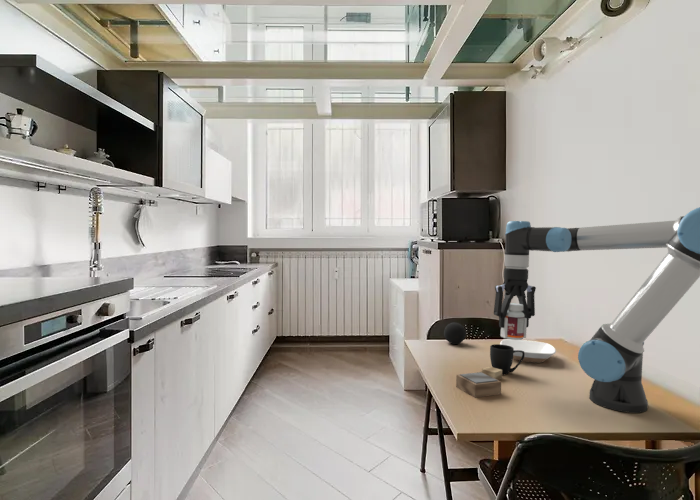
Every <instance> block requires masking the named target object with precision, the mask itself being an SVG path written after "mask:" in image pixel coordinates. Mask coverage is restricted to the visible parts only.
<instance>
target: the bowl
mask: <svg viewBox="0 0 700 500" xmlns="http://www.w3.org/2000/svg"><path fill="white" fill-rule="evenodd" d="M499 344H501V345H507V346H511V347H513V349H514V350H521V351H524V353H525V355H524V359H523V360H522V362H525V361H526V362H525V363H535V362H537V364H538V363H539V364H541V363H543V362H545V361H546V360H547V359H550V358H551V357H552V356H554V355H555V354H556V353H557V349H556V348H555V347H554V346H553V345H552V344H550V343H547V342H543V341H535V340H526V339H522V340H511V339H507V338H503V339H502V340H501V341H500V343H499ZM521 358H522V352H515V353H513V361H518V360H519V361H520V360H521ZM519 361H518V362H519Z"/></svg>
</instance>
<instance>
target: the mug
mask: <svg viewBox="0 0 700 500" xmlns="http://www.w3.org/2000/svg"><path fill="white" fill-rule="evenodd" d="M489 347H490V348H489V357H490V364H491V367H494V368H497V369H501V370H502V376H503V375H504V374H505V375H509V373H514V372H515V370H516V369H517V368H518V367H519V365H520V364H521V363H522V362H523V361H522V360H523V359H524V355H525V353H524V351H521V350H514V349H513V347H511V346H507V345H501V344H500V343H499V344H498V343H497V344H491V345H490V346H489ZM515 352H522V358H521V360H520V361H518V362H517V364H516V365H515V366H514V367H512V365H513V361H514V359H513V353H515ZM511 367H512V368H511Z"/></svg>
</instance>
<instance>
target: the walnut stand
mask: <svg viewBox="0 0 700 500" xmlns="http://www.w3.org/2000/svg"><path fill="white" fill-rule="evenodd" d="M455 386H456V388H457V389H459V390H461V391H463V392H465V393H466V394H468V395H469V396H472V397H474V398H482V397H488V396H497V395H501V394H502V381H501V380H500V379H499V380H497V379H495V378H493V377H491V376H488V375H486V374H484V373H482V371H479V372H471V373H470V372H469V373H462V374H461V373H460V374H456V381H455Z"/></svg>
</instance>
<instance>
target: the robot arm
mask: <svg viewBox="0 0 700 500" xmlns="http://www.w3.org/2000/svg"><path fill="white" fill-rule="evenodd" d="M504 236H505V242H504V243H505V245H504V246H505V247H504V269H503V280H504V281H503V283H502V284H501V285H495V286H494V290H495V297H494V307H493V315H494V316H497V317H498V326H499V328H500V337H501V338H503V339H507V326H508V318H505V317H506V314H507V311H508V309H509V306H510V303H512V300H513V298H514V297H516V298H517V299H518V304H522V305H523V311H522V312H523V313H524V336H523V339H527V328H529V327H530V326H529V325H530V324H529V323H530V322H529V320H530V319H531V318H532V317H535V316H536V313H535V312H536V309H535V308H536V307H535V306H536V305H535V293H536V289H537V287H536V286H532V285H529V283H528V279H529V269H528V268H529V266H530V264H529V263H530V251H536V252H552V253H560V252H562V253H563V252H564V253H565V252H568V253H569V252H575V251H576V252H578V251H603V250H605V251H607V250H608V251H609V250H631V249H633V250H635V249H636V250H639V249H665V248H667V254H665V256H663V259H661V261H660V262H659V263H658V264H657V266H656V267H655V268H654V270H652V272H651V273H650V275H649V276H648V277H647V278H646V279H645V280H644V282H643V283H642V284H641V286H640V287H639V289H637V290H636V292H635V293H634V295H633V296H632V297H631V298H630V299H629V301H628V302H627V303H626V304H625V306H624V307H623V308H622V309H621V310H620V312H619V313H618V314H617V316H616V317H615V318H614V319H613V321H612V322H611V323H603V324H602V325H601V326H600V327H599V328H598V329H597V331H596V332H595V333H594V334H593V336H592V337H591V338H590V339H589V340H588V341H585V342H584V343H582V345H581V346H580V348H579V350H578V353H577V356H578V357H577V359H578V364H579V366H580V368H581V369H582V370H583V372H584V373H585V374H586V375H587V376H588V377H590V378H591V379H593V382H592V384H591V387H590V389H589V395H588V396H589V400H590V401H591V402H593V403H595V404H596V405H598V406H601V407H604V408H606V409H610V410H614V411H617V412H623V413H635V414H636V413H639V414H640V413H644V412H646V411H648V406H649V405H648V404H649V403H648V399H647V396H646V393H645V389H644V386H643V383H642V381H643V380H642V378H643V362H644V361H643V358H644V352H645V348H644V345H645V341H646V339H647V338H648V337H649V336H651V334H652V333H653V331H654V330H655V329H657V327H658V326H659V325H660V324H661V322H662V321H663V320H664V319H665V318H666V317H667V316H668V315H669V313H670V312H671V311H672V310H673V309H674V308H675V306H676V305H677V304H678V303H679V302H680V300H681V299H682V298H683V297H684V296H685V294H687V292H688V291H689V290H690V289H691V288H692V287H693V285H694V284H695V283H696V282H697V280H699V278H700V207H696V208H694V209H692V210H690V211H689V212H687V213H686V214H685V215H683V216H680V217H678V218H677V219H675V220H664V221H652V222H639V223H623V224H611V225H609V224H608V225H598V226H583V227H569V228H567V227H560V226H552V227H550V226H547V227H546V226H545V227H544V226H543V227H534V226H532V224H531V222H530V221H528V220H510V221H508V222H507V223H506V227H505V233H504ZM504 291H505V292H504ZM503 297H504V298H503Z"/></svg>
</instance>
